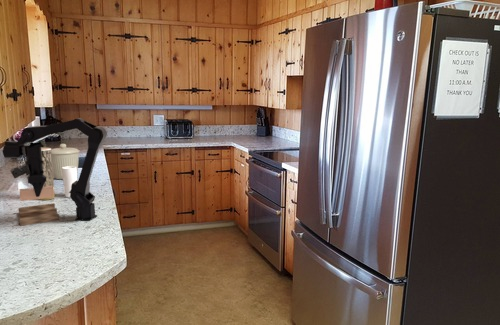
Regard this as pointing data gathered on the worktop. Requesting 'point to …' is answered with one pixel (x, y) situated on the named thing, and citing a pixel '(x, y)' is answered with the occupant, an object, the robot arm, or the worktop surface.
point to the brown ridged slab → (38, 214)
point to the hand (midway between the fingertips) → (37, 195)
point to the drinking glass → (69, 178)
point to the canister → (63, 159)
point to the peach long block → (30, 194)
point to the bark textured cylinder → (47, 169)
